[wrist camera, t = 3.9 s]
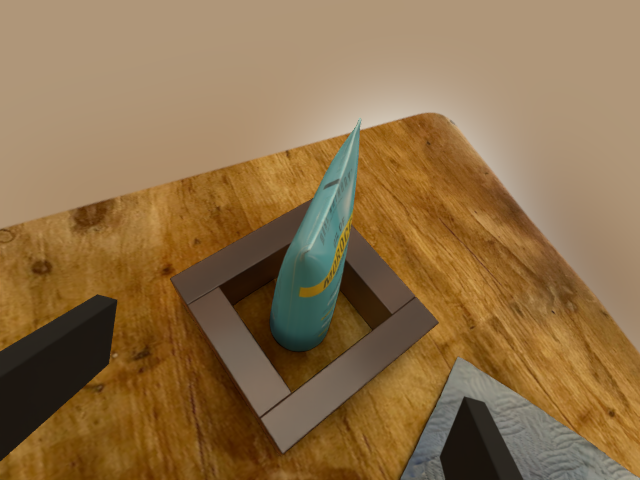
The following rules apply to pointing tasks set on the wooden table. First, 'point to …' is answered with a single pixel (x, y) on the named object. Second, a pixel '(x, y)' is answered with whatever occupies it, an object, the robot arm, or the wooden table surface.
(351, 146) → the tube
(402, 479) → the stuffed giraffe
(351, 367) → the square wooden frame
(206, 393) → the wooden table surface
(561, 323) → the wooden table surface
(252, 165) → the wooden table surface
